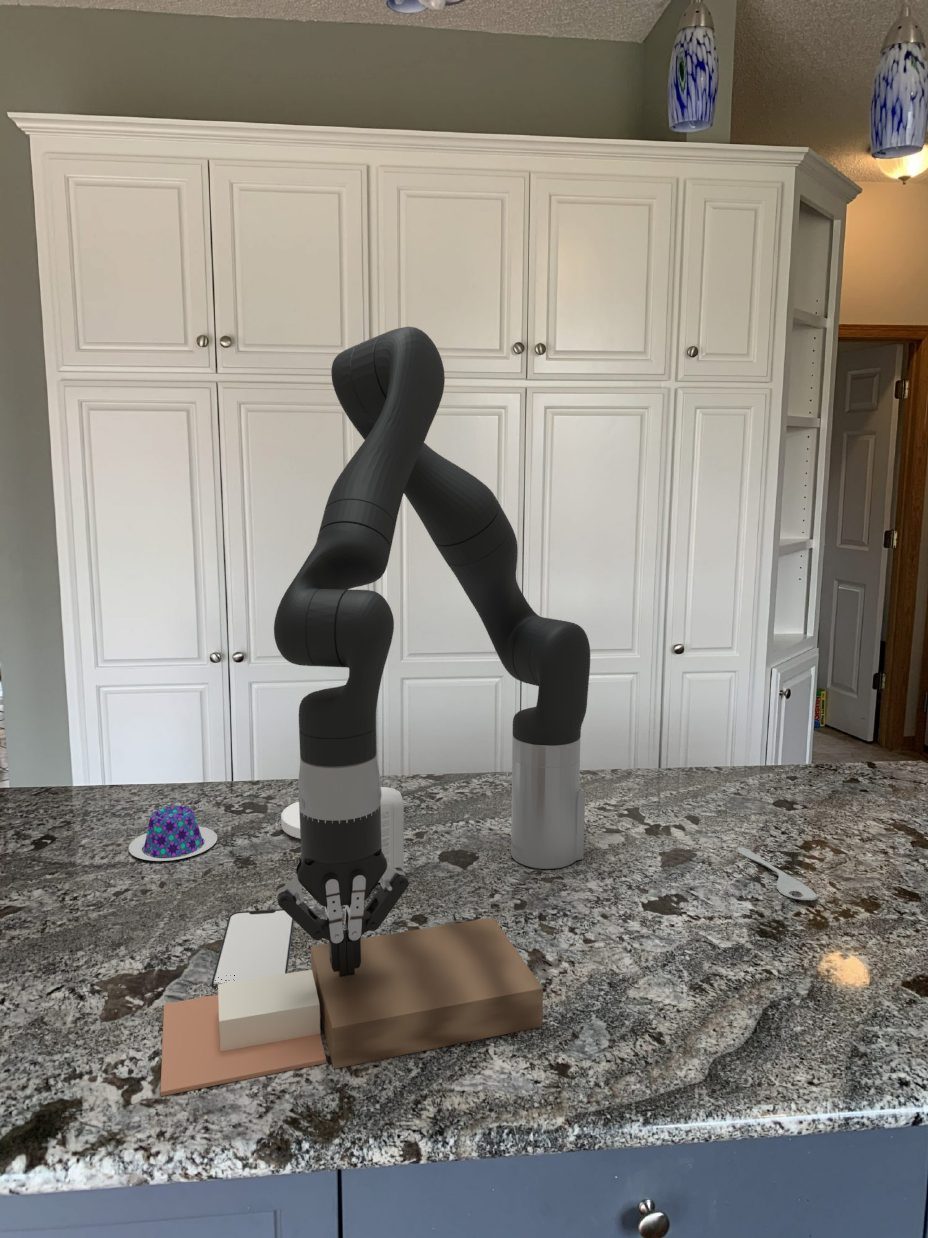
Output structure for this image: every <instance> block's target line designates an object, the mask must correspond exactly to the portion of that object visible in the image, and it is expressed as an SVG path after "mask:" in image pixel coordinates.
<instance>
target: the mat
mask: <svg viewBox="0 0 928 1238" xmlns="http://www.w3.org/2000/svg"><path fill="white" fill-rule="evenodd" d="M162 1021H163V1022H162V1023H163V1024H162V1046H161V1047H162V1049H161V1071H160V1072H161V1073H160V1076H161V1077H160V1097H163V1096H164V1097H165V1096H169V1095H174V1094H179V1093H184V1092H188V1091H189V1092H190V1091H194V1090H199V1089H204V1088H208V1087H214V1086H219V1085H222V1084H224V1085H225V1084H228V1083H234V1082H238V1081H244V1080H248V1079H252V1078H253V1079H254V1078H259V1077H264V1076H268V1075H273V1074H278V1073H283V1072H289V1071H293V1070H298V1069H304V1068H309V1067H314V1066H318V1065H324V1064H327V1057H326V1054H325V1049H324V1045H323V1041H322V1036H321V1033H320V1034H316V1035H310V1036H305V1037H299V1038H293V1039H288V1040H282V1041H277V1042H271V1043H265V1044H260V1045H254V1046H249V1047H243V1048H237V1049H232V1050H226V1051H220V1030H219V1002H218V994H213V995H208V996H203V997H196V998H191V999H185V1000H179V1001H173V1002H167V1003H164V1004H163V1020H162Z"/></svg>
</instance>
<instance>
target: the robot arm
mask: <svg viewBox="0 0 928 1238" xmlns="http://www.w3.org/2000/svg"><path fill="white" fill-rule="evenodd" d="M330 372H331V373H330V374H331V381H332V386H333V390H334V393H335V395H336V397H337V399H338V401H339V404H340V406H341V408H342V409H343V411H344V413H345V415H346V416H347V418H348V419H349V421H350V422H351V424H352V426H353V427H354V428H355V429H356V430H357V433H359V434H360V436H361V437H362V439H363V440H364V441H363V443H361V445H360V446H359V448H358V449H357V450H356V452H355V453H354V455H352V457H351V458H350V460H349V461H348V462H347V464H346V465H345V467H344V468H343V470H342V471H341V473H340V475H339V476H338V478H336V480H335V483H334V484H333V486H332V488H331V491H330V492H329V496H328V499H327V501H326V504H325V508H324V511H323V516H322V520H321V523H320V526H319V527H320V528H319V530H318V534H317V538H316V542H315V544H314V546H313V548H312V550H311V551H310V553H309V554H308V556H307V558H306V559H305V561H304V563H303V564H302V565H301V567H300V569H299V571H298V572H297V574H296V575H295V577H294V578H293V579H292V581H291V583H290V584H289V585H288V587H287V589H286V591H285V592H284V594H283V596H282V597H281V599H280V602H279V604H278V607H277V610H276V613H275V617H274V621H273V622H274V623H273V636H274V642H275V644H276V647H277V649H278V651H279V653H280V655H281V656H282V657H283V658H284V660H286V661H287V662H289V663H290V664H293V665H298V666H301V667H302V666H305V667H325V668H326V667H328V668H347V669H348V670H349V671H348V678H347V681H346V683H345V684H344V685H340V686H335V687H328V688H323V689H319V690H315V691H312V692H310V693H308V694H307V695H305V696H304V697H303V698H302V700H301V701H300V704H299V708H298V732H299V733H298V735H299V738H298V739H299V772H298V802H299V812H300V837H301V839H300V858H299V859H300V860H299V862H298V863H297V866H296V869H295V873H296V875H295V876H294V877H293V878H291V879H290V880H289V881H288V882H287V883H286V884H285V883H281V884H278V885H276V888H275V895H276V900H277V904H278V906H279V907H280V909H283V910H284V911H285V912H286V913H287V914H288V915H289V916H290V917H291V918H292V919H293V920H294V923H296V924H297V925H298V926H299V927H301V929H302V930H303V931H304V932H306V933H307V935H309V937H310V938H311V939H313V940H314V941H320V940H323V939H325V940H327V941H328V944H329V958H330V963H331V967H332V969H333V971H334V972H338V974H339V977H343V976H349V975H355V968H359V967H360V964H361V938H362V937H363V935H364V934H366V933H367V932H369V931H370V932H375V931H377V930H378V929H379V928H380V927H381V925H382V924H383V923H384V921H385V920H386V918H387V916H388V915H389V914H390V912H391V911H392V909H393V908H394V907H395V905H397V903H398V901H399V900H400V898H402V895H403V894H404V893H405V891H406V890H407V889H408V887H409V884H410V881H409V879H408V878H407V875H406V874H405V872H404V871H403V870H402V869H401V868H399V867H397V868H393V867H391V866H390V865H388V864H387V860H386V858H385V856H384V854H383V853H382V846H381V801H380V800H381V796H382V792H381V787H382V786H381V777H380V776H381V775H380V768H379V763H378V756H377V755H378V754H377V753H378V751H377V709H378V699H379V693H380V688H381V684H382V683H381V682H382V678H383V674H384V670H385V665H386V663H387V659H388V655H389V652H390V648H391V645H392V641H393V636H394V632H395V631H394V629H395V619H394V614H393V612H392V609H391V607H390V605H389V603H388V601H387V600H386V599H385V597H384V596H383V595H381V593H379V592H378V591H375V590H370V589H354V588H358V587H362V586H363V587H364V586H367V585H370V584H373V583H375V582H377V581H379V580H380V579H381V578H382V577H383V575H384V574H385V572H386V570H387V567H388V564H389V563H388V562H389V559H390V555H391V550H392V546H393V540H394V536H395V531H396V527H397V526H396V525H397V521H398V515H399V511H400V507H401V504H402V500H403V497H404V496H405V497H406V499H407V500H408V502H409V503H410V505H411V506H412V508H413V510H414V511H415V513H416V514H417V516H418V517H419V519H420V520H421V522H422V524H423V526H424V528H425V529H426V531H427V533H428V535H429V536H430V538H431V540H432V542H433V544H434V545H435V547H436V548H437V550H438V551H439V553H440V555H441V556H442V558H443V560H444V561H445V563H446V564H447V566H448V567H449V568H450V570H451V571H452V573H453V575H454V576H455V577H456V579H457V581H458V583H459V584H460V586H461V587H462V589H463V591H464V593H465V594H466V596H467V598H468V599H469V601H470V602H471V604H472V606H473V608H474V609H475V611H476V613H477V614H478V616H479V618H480V620H481V622H482V623H483V626H484V628H485V631H486V633H487V635H488V637H489V638H490V641H491V644H492V645H493V647H494V648H493V649H495V653H496V654H497V656H498V658H499V660H500V662H501V664H502V665H503V667H504V669H505V670H506V671H507V673H508V674H509V675H510V676H511V677H512V678H514V679H515V680H518V681H519V682H521V683H525V684H529V685H532V686H536V687H538V691H537V700H536V701H537V702H536V706H533V707H528V708H524V709H521V710H519V711H518V712H516V713H515V714H514V716H513V719H512V741H511V744H512V745H511V747H512V749H511V750H512V751H511V756H512V757H511V758H512V759H511V762H512V763H511V820H510V821H511V823H510V824H511V827H510V828H511V829H510V831H511V833H510V835H511V836H510V854H511V857H512V859H513V860H514V861H516V862H517V863H519V864H521V865H524V866H526V867H530V868H534V869H542V870H543V869H545V870H549V869H550V870H551V869H552V870H553V869H561V868H564V867H568V866H570V865H572V864H574V863H575V862H576V861H580V860H584V849H585V847H584V843H585V809H586V806H585V805H586V796H585V792H584V791H582V790H581V788H580V778H581V777H580V774H581V773H580V772H581V771H580V770H581V769H580V767H581V736H582V735H581V734H582V733H581V732H582V725H583V723H584V719H585V717H586V713H587V708H588V698H589V697H588V695H589V684H590V683H589V682H590V674H591V671H590V670H591V647H590V642H589V637H588V635H587V632H585V630H584V629H583V627H582V626H580V625H579V624H577V623H575V622H571V621H567V620H561V619H555V618H550V617H543V616H540V615H539V614H537V612H535V610H534V609H533V607H531V605H530V604H529V602H528V601H527V599H526V597H525V596H524V594H523V593H522V591H521V589H520V587H519V586H520V585H519V583H518V581H517V568H518V555H519V554H518V549H519V548H518V541H517V536H516V533H515V531H514V528H513V527H512V523H511V522H510V520H509V518H508V517H507V515H506V513H505V511H504V510H503V507H502V505H501V504H500V502H499V501H498V499H497V497H496V495H495V494H494V492H493V491H492V489H490V488H489V487H488V486H487V484H485V483H484V482H482V481H481V480H480V479H479V478H477V477H476V476H474V475H473V474H471V473H470V472H468V471H467V470H465V469H464V468H462V467H460V466H459V465H457V464H455V463H454V462H452V461H451V460H449V459H447V458H445V457H444V456H442V455H441V454H439V453H438V452H436V451H435V450H433V448H431V447H430V446H428V445H427V443H426V442H425V441H426V439H427V435H428V434H429V431H430V428H431V426H432V423H433V422H434V420H435V417H436V414H437V412H438V410H439V407H440V404H441V401H442V399H443V395H444V389H445V378H446V377H445V368H444V363H443V360H442V357H441V355H440V352H439V350H438V347H437V346H436V344H435V343H434V341H433V339H432V338H431V337H429V336H428V334H427V333H426V332H425V331H423V330H422V329H419V328H418V327H415V326H404V327H399V328H394V329H392V330H389V331H387V332H385V333H381V334H379V335H377V336H374V337H372V338H370V339H367V340H365V341H362V342H361V343H358V344H356V345H353V346H352V347H351V346H350V347H349V348H346V349H345V350H343V351H341V352H340V353H338V354H337V355H336V357H334V359H333V361H332V365H331V371H330ZM381 877H382V878H381ZM380 879H381V880H380ZM379 880H380V882H379ZM378 882H379V883H380V887H379V889H378V890H377V891H376V892H375V894H374V895H373V896H372V897H371V900H370V901H369V903H368V904H367V905H366V907H364V906H365V900H367V899H368V898H369V897H370V895H371V894H372V892H373V891H374V889H375V888H376V886H377V885H378ZM303 888H304V889H305V890H306V892H308V894H309V895H310V896H312V898H313V899H314V900H315V901H316V902H317V904H319V905H320V906H321V907H324V910H325V919H323V918H321V916H318V915H317V913H316V912H315V911H313V910H312V908H311V907H309V905H307V904H306V902H304V900H305V896H304V893H303V890H302V889H303ZM342 907H344V921H343V913H342ZM343 923H344V927H345V930H344V927H343Z"/></svg>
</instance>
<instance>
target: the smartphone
mask: <svg viewBox="0 0 928 1238" xmlns="http://www.w3.org/2000/svg"><path fill="white" fill-rule="evenodd" d="M294 924H295V921H294V920H293V919H292V918H291V917H290V916H289V915H288V914H287V913H286V912H285V911H284V910H283V909H282V908H278V909H262V910H261V909H259V910H249V911H248V910H246V911H236V912H233V913H231V914H230V915H228V918H227V922H226V926H225V930H224V935H223V938H222V942H221V945H220V949H219V953H218V957H217V960H216V964H215V969H214V971H213V976H212V978H211V983H212V984H210V987H211V989H214V990H216V991H218V986H216V985H215V984H223V983H224V982H225V983H226V982H227V983H230V982H236V981H242V980H249V979H255V978H261V977H268V976H274V975H280V974H287V973H289V972H288V971H289V970H288V969H289V961H290V956H291V947H292V940H293V933H294V932H293V931H294ZM215 975H216V976H215ZM226 975H227V976H226ZM230 975H231V976H230ZM234 975H235V976H234ZM218 977H219V978H218ZM221 979H222V980H221ZM233 979H234V980H235V981H234V980H233ZM215 980H216V981H215ZM225 980H227V981H225ZM228 980H230V981H228ZM218 982H219V983H218ZM216 988H217V989H216Z"/></svg>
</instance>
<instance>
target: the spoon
mask: <svg viewBox="0 0 928 1238" xmlns="http://www.w3.org/2000/svg"><path fill="white" fill-rule="evenodd" d="M737 851H738V853H740V854H741V855H742V856H743V857H745V858H746V859H749V860H751V861H753V862H756V863H758V864H760V865H762V866H764V867H766V868H768V869H769V870H771V871H772V872H774V873H776V874H777V875H778V879H777V881H776V889H777V890H778V892H779V893H780V894H782V895H784V896H785V897H787V898H791V899H795V900H798V901H815V900H817V899H818V895H817V894H816V893H815V891H813V890H812V889H811V888H810V887H808V886H807V884H804V883H802V881H799V880H797V879H796V878H793V877H792V876H791V875H788V874H787V873H786V872H785V871H783V870H781V869H779V868H777V867H775V866H773V865H772V864H770V863H769V862H768V861H766V860H764V859H763V858H762V857H761V856H759V855H757V854H756V853H755V852H754V851H752V850H750V849H749V848H746V847H742V846H741V847H740V846H739V847H737ZM790 892H799V893H800V894H802V896H799V897H798V896H795V895H794V896H793V895H792V894H791V893H790Z"/></svg>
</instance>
